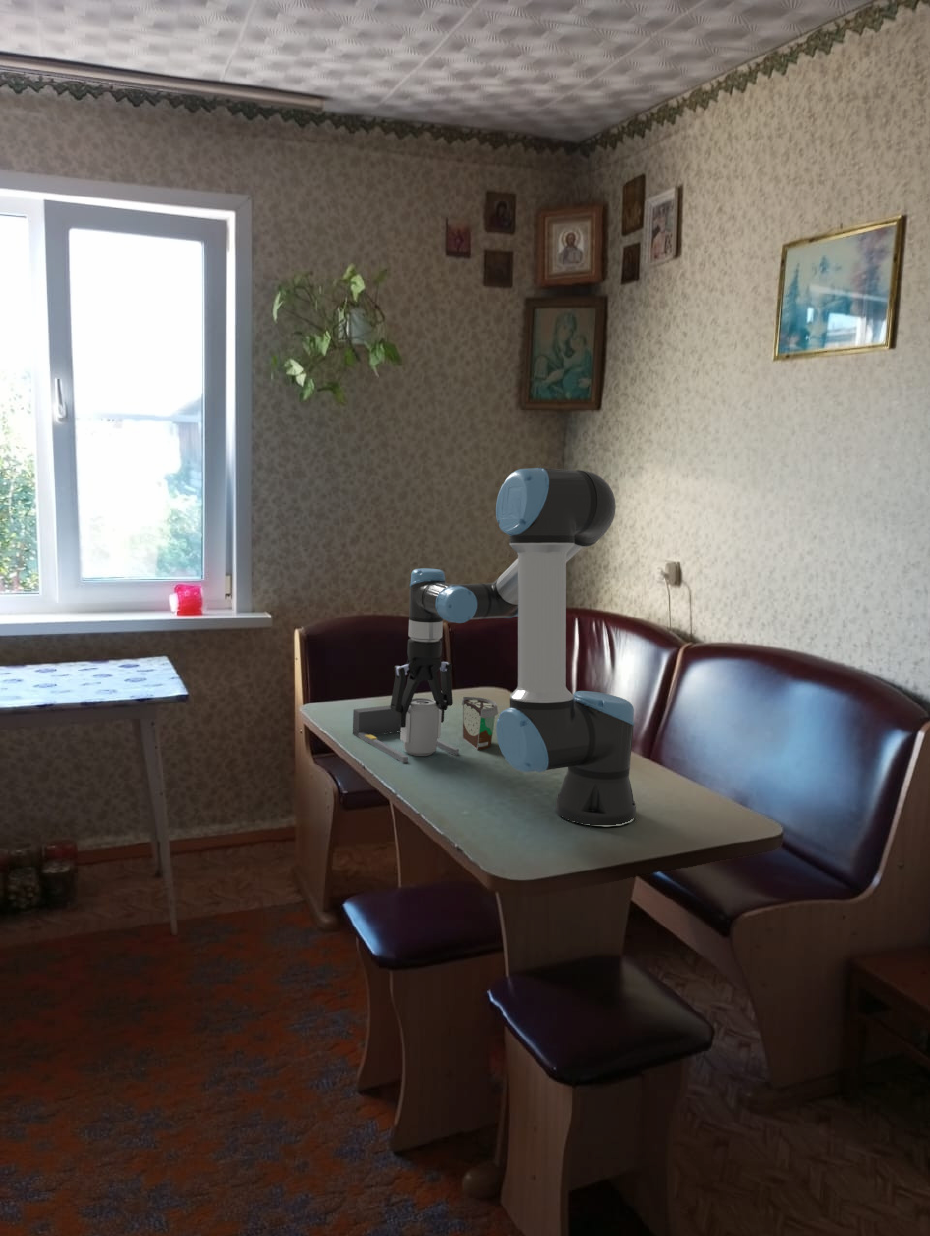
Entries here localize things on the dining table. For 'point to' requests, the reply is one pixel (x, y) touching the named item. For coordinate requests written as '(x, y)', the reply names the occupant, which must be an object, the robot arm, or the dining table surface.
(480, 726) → the food container
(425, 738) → the can
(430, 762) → the dining table surface
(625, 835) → the dining table surface
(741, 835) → the dining table surface
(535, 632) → the robot arm
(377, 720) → the guide channel
